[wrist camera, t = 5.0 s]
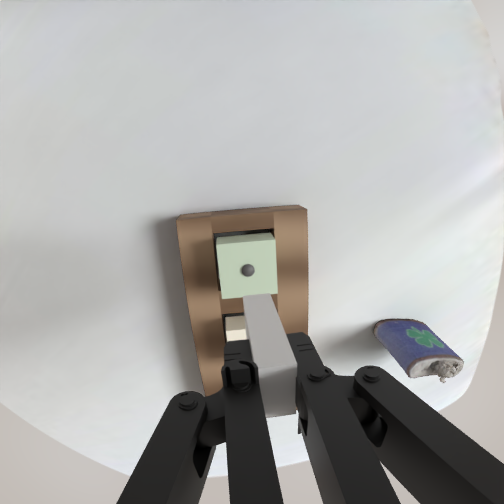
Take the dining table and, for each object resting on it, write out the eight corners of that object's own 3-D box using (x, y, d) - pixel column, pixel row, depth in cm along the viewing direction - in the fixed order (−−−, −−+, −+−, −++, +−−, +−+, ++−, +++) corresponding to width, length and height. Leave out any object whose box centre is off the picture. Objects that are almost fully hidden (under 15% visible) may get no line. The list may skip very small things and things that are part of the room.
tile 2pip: (225, 317, 27) (225, 331, 25) (274, 312, 28) (279, 326, 25) (230, 356, 28) (231, 372, 26) (275, 351, 29) (280, 367, 26)
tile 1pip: (216, 237, 25) (216, 245, 23) (270, 232, 25) (275, 239, 23) (222, 287, 26) (222, 299, 24) (272, 282, 27) (278, 294, 24)
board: (180, 214, 27) (176, 220, 24) (298, 204, 28) (307, 209, 25) (211, 402, 34) (211, 419, 31) (299, 392, 34) (304, 408, 32)
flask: (369, 336, 33) (413, 390, 23) (378, 314, 32) (427, 365, 22) (422, 340, 35) (467, 385, 24) (430, 321, 34) (479, 363, 24)
